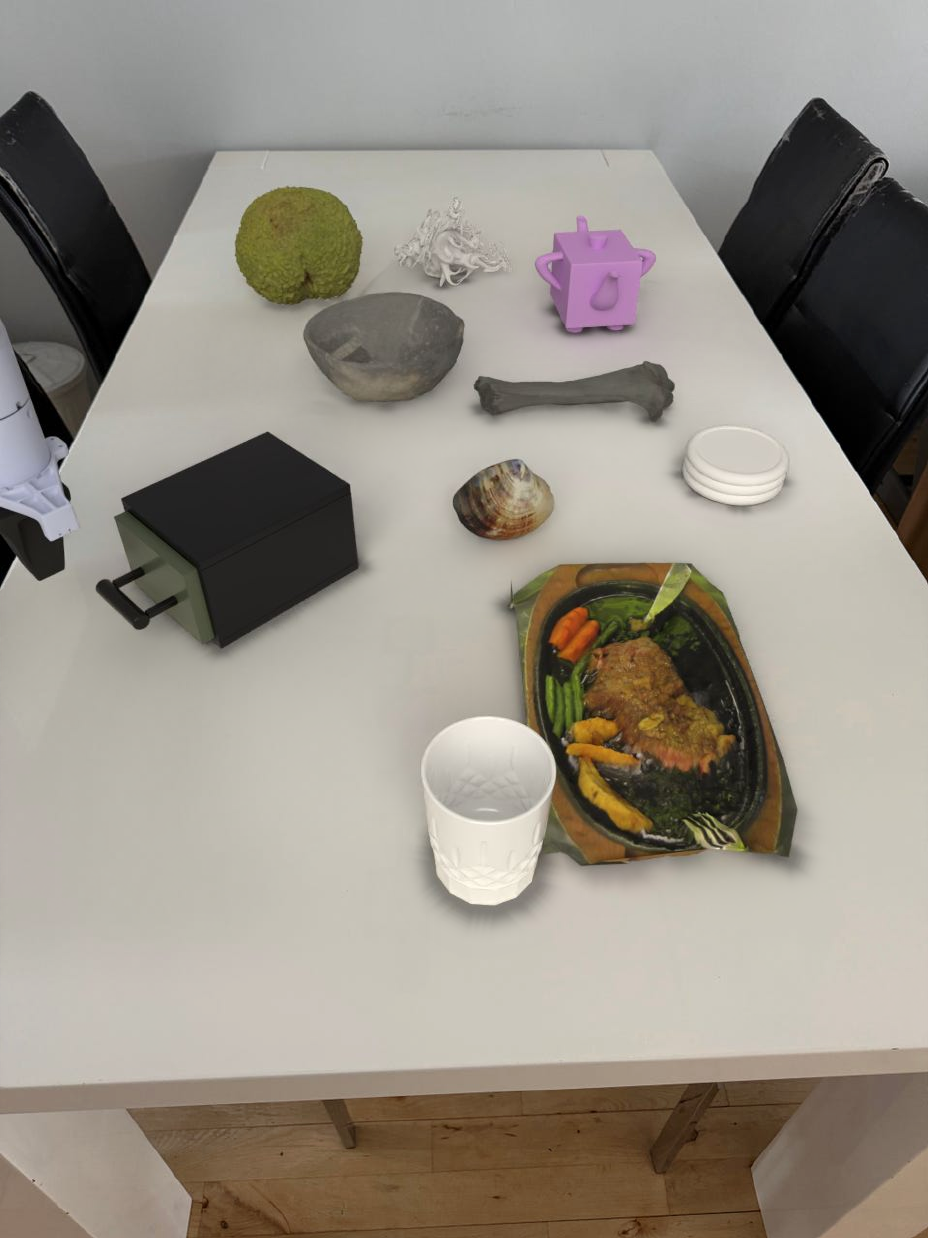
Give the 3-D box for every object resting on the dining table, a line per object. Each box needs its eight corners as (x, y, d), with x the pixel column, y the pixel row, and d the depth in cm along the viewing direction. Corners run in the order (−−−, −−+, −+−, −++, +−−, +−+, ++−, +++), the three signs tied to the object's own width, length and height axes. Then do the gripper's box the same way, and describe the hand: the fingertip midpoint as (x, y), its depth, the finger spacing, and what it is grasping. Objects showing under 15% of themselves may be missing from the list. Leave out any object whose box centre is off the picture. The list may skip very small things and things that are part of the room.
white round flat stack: (778, 516, 87) (787, 486, 85) (674, 497, 90) (680, 467, 87) (785, 461, 94) (794, 432, 92) (689, 444, 97) (694, 415, 94)
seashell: (543, 510, 88) (549, 439, 83) (560, 547, 84) (567, 474, 78) (447, 523, 87) (446, 451, 81) (459, 560, 82) (459, 487, 77)
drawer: (158, 670, 71) (135, 600, 66) (93, 606, 77) (67, 537, 72) (333, 569, 80) (325, 501, 75) (264, 518, 86) (251, 451, 81)
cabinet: (221, 649, 74) (199, 563, 68) (146, 582, 80) (120, 497, 74) (358, 568, 82) (350, 484, 75) (281, 512, 88) (267, 430, 81)
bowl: (365, 338, 114) (361, 275, 109) (490, 371, 108) (492, 306, 103) (279, 403, 103) (268, 336, 97) (413, 443, 97) (410, 374, 91)
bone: (666, 398, 104) (674, 348, 100) (676, 428, 99) (685, 377, 95) (473, 398, 104) (473, 348, 100) (473, 428, 99) (474, 377, 95)
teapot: (668, 318, 119) (681, 233, 111) (608, 354, 111) (619, 266, 104) (573, 286, 126) (580, 204, 119) (512, 318, 119) (515, 233, 111)
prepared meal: (830, 827, 58) (547, 837, 57) (815, 859, 60) (543, 870, 59) (713, 557, 79) (506, 562, 78) (706, 589, 81) (504, 594, 80)
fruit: (289, 335, 115) (221, 220, 108) (267, 331, 127) (204, 227, 120) (395, 269, 117) (335, 152, 110) (363, 271, 130) (307, 166, 123)
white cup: (490, 939, 56) (494, 849, 49) (400, 863, 60) (392, 769, 53) (569, 857, 60) (583, 763, 53) (481, 790, 64) (483, 695, 57)
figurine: (389, 240, 130) (430, 167, 124) (477, 292, 136) (521, 225, 130) (390, 277, 121) (435, 199, 115) (485, 331, 127) (532, 260, 121)
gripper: (97, 423, 55) (149, 592, 64) (-8, 343, 62) (52, 505, 72) (-18, 469, 51) (55, 641, 60) (-115, 379, 59) (-37, 544, 68)
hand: (48, 571), depth 66 cm, fingers closed
